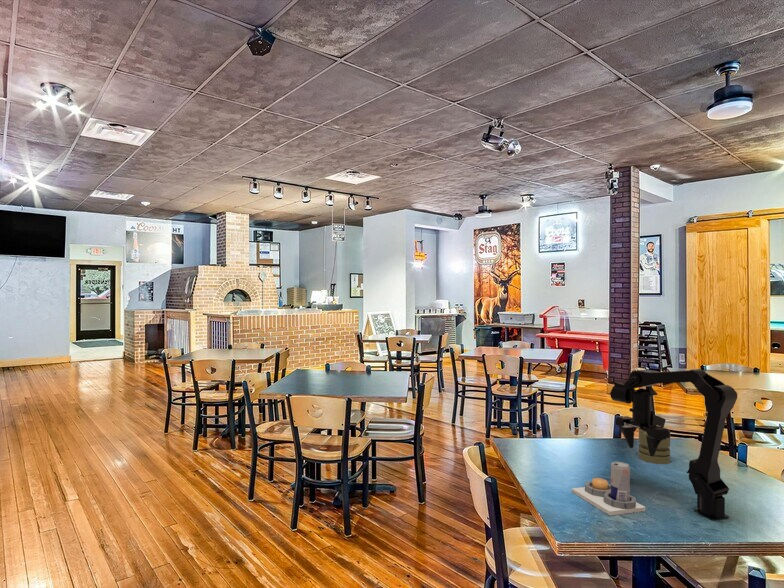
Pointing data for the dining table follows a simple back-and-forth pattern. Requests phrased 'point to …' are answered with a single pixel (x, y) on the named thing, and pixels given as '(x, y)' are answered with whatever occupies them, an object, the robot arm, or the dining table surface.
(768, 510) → the dining table surface
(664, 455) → the piston
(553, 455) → the dining table surface
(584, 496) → the housing
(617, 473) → the energy drink
